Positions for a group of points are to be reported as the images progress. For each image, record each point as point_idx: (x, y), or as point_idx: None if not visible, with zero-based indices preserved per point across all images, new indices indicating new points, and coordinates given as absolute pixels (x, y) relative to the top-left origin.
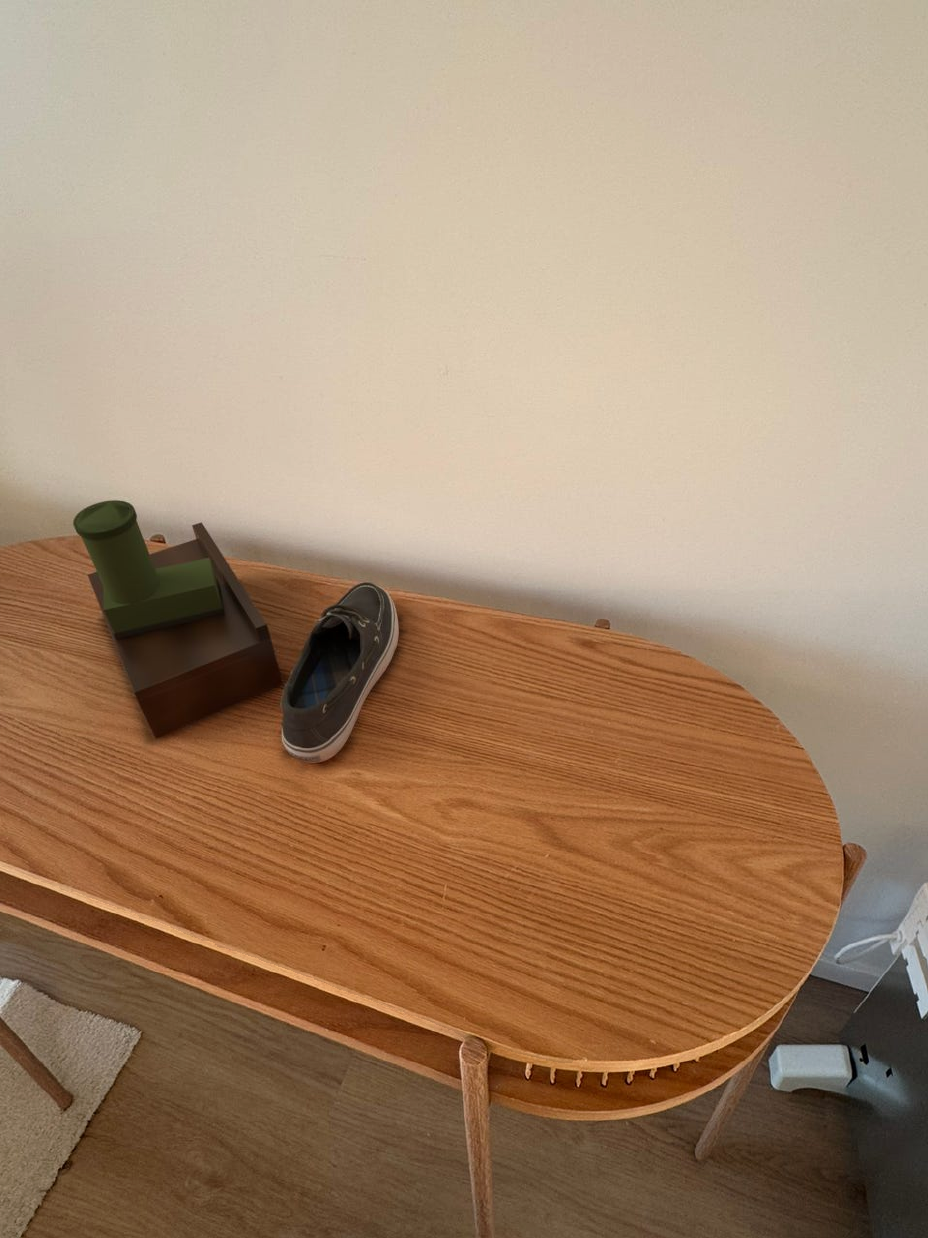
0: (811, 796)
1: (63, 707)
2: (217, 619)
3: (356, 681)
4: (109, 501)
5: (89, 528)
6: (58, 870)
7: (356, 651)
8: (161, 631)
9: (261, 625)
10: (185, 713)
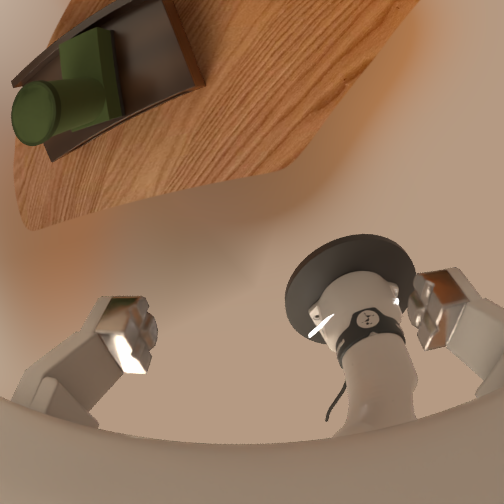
0: None
1: (159, 159)
2: (119, 34)
3: None
4: (12, 118)
5: (48, 121)
6: (306, 140)
7: None
8: (122, 78)
9: None
10: (194, 61)
